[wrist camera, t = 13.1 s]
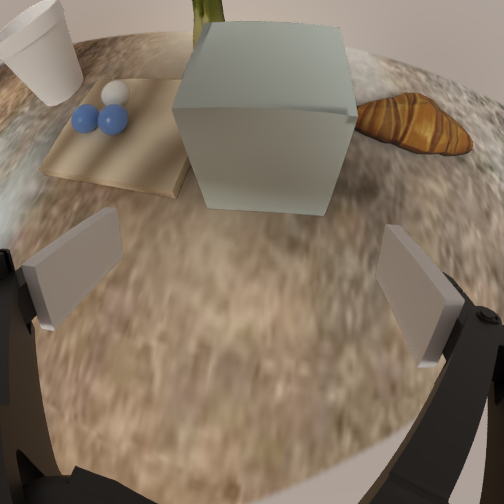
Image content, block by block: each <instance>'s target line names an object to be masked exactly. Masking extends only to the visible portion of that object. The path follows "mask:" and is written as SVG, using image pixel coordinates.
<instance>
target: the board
mask: <svg viewBox="0 0 504 504" xmlns="http://www.w3.org/2000/svg"><path fill="white" fill-rule="evenodd" d="M114 80H120V81H123V82H125V83H126V84H127V85H128V87H129V90H130V96H129V99H128V101H127V102H126V103H125V104H124V105H123V107H124V108H125V109H126V110H127V112H128V116H129V120H128V124H127V126H126V128H125V129H124V130H123V131H122V132H121V133H119V134H117V135H107V134H105V133H103V132H102V131H101V130H100V129H99V127H98V125H97V127H96V128H95V129H94V130H93V131H91V132H89V133H84V134H83V133H79V132H77V131H75V130H74V128H73V127H72V124H71V118H70V119H69V121H68V122H67V124H66V125H65V127H64V128H63V130H62V131H61V133H60V135H59V136H58V138H57V139H56V141H55V143H54V144H53V146H52V148H51V149H50V151H49V153H48V154H47V156H46V158H45V160H44V161H43V163H42V165H41V167H40V169H39V170H40V171H41V172H42V173H43V174H44V175H47V176H53V177H59V178H65V179H71V180H77V181H83V182H89V183H95V184H101V185H106V186H112V187H117V188H123V189H128V190H133V191H139V192H144V193H149V194H154V195H160V196H165V197H170V198H175V199H176V198H177V195H178V193H179V190H180V188H181V185H182V183H183V181H184V178H185V176H186V174H187V171H188V169H189V167H190V164H191V163H190V160H189V157H188V155H187V152H186V149H185V146H184V144H183V141H182V138H181V135H180V133H179V130H178V127H177V124H176V121H175V118H174V116H173V113H172V110H171V108H172V105H173V102H174V99H175V96H176V94H177V91H178V88H179V85H180V83H181V80H179V79H109V80H97V82H96V83H95V84H94V86H93V87H92V88H91V90H90V91H89V92H88V94H87V95H86V96H85V98H84V99H83V100H82V102H81V103H80V105H79V106H81V105H83V104H91V105H93V106H95V107H96V108H97V109H98V111H99V113H100V112H101V110H102V109H103V108H104V107H106V106H105V105H104V104H103V102H102V100H101V92H102V90H103V88H104V86H105V85H106V84H107V83H109V82H111V81H114ZM79 106H78V107H79ZM71 117H72V116H71Z"/></svg>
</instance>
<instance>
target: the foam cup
mask: <svg viewBox="0 0 504 504" xmlns="http://www.w3.org/2000/svg"><path fill="white" fill-rule="evenodd" d="M0 60H2V61H3V62H4V63H5V64H6V65H7V66H8V67H9V68H10V69H11V70H12V71H13V72H14V73H15V74H16V75H17V76H18V77H19V78H20V79H21V80H22V81H23V82H24V83H25V84H26V85H27V86H28V87H29V89H30V90H31V91H32V92H33V93H34V94H35V95H36V96H37V97H38V98H39V99H40V100H41V101H43V102H44V103H45V104H46V105H47V106H56V105H58V104H60V103H62V102H64V101H66V100H67V99H68V98H70V97H71V96H72V95H74V93H75V92H76V91H77V90H78V89H79V88H80V87H81V85H82V83H83V81H84V79H83V75H82V71H81V68H80V65H79V62H78V59H77V56H76V53H75V50H74V47H73V44H72V41H71V38H70V34H69V31H68V28H67V25H66V21H65V18H64V10H63V7H62V5H61V3H60V1H59V0H43V1H40V2H38V3H37V4H35V5H33V6H31V7H30V8H28V9H26V10H25V11H24V12H22V13H21V14H19V15H18V16H17V17H15V18H14V19H13V20H11V21H10V22H9V23H8V24H7V25H6V26H5V27H4V28H2V29H1V30H0Z"/></svg>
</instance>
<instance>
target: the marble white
mask: <svg viewBox="0 0 504 504" xmlns="http://www.w3.org/2000/svg"><path fill="white" fill-rule="evenodd" d="M129 96H130V90H129V87H128V85H127V84H126V83H125V82H123V81H120V80H114V81H111V82H109V83H107V84H106V85H105V86H104V88H103V90H102V92H101V100H102V102H103V104H104V105H105V106H108V105H110V104H119V105H121V106H123V105H124V104H125V103H126V102H127V101H128V99H129Z"/></svg>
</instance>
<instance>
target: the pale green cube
mask: <svg viewBox="0 0 504 504" xmlns="http://www.w3.org/2000/svg"><path fill="white" fill-rule="evenodd" d="M171 110H172V113H173V116H174V118H175V121H176V124H177V127H178V130H179V133H180V135H181V138H182V141H183V144H184V146H185V149H186V152H187V155H188V157H189V160H190V163H191V166H192V168H193V171H194V174H195V176H196V179H197V182H198V185H199V187H200V190H201V193H202V195H203V198H204V201H205V203H206V206H207V209H226V210H244V211H261V212H276V213H291V214H305V215H317V216H325V213H326V210H327V207H328V204H329V202H330V199H331V196H332V193H333V190H334V188H335V185H336V182H337V179H338V176H339V173H340V170H341V167H342V164H343V161H344V159H345V156H346V153H347V150H348V147H349V143H350V140H351V137H352V134H353V131H354V128H355V125H356V122H357V119H358V113H357V107H356V101H355V95H354V90H353V84H352V79H351V74H350V69H349V65H348V60H347V56H346V51H345V47H344V43H343V39H342V35H341V31H340V28H339V27H332V26H323V25H315V24H304V23H290V22H266V21H264V22H262V21H236V22H212V23H205V25H204V27H203V29H202V32H201V34H200V36H199V38H198V41H197V43H196V45H195V48H194V50H193V53H192V55H191V57H190V60H189V62H188V65H187V67H186V70H185V72H184V75H183V78H182V80H181V83H180V85H179V88H178V91H177V94H176V96H175V99H174V102H173V105H172V108H171Z"/></svg>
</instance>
